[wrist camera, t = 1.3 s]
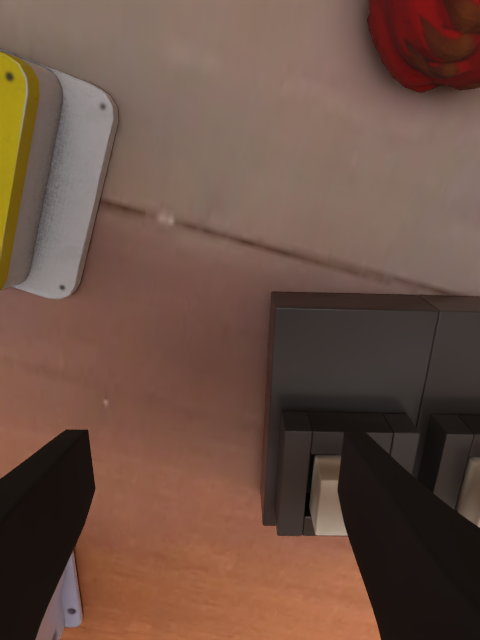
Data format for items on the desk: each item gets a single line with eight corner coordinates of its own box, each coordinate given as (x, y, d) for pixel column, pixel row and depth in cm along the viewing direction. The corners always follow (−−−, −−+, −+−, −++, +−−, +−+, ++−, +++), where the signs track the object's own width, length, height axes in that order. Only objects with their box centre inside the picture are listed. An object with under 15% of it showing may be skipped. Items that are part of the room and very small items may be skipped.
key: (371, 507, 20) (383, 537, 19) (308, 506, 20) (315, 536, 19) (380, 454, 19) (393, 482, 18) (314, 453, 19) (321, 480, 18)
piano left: (381, 494, 25) (408, 554, 21) (260, 492, 24) (264, 552, 21) (417, 294, 20) (458, 324, 17) (271, 291, 20) (278, 320, 17)
